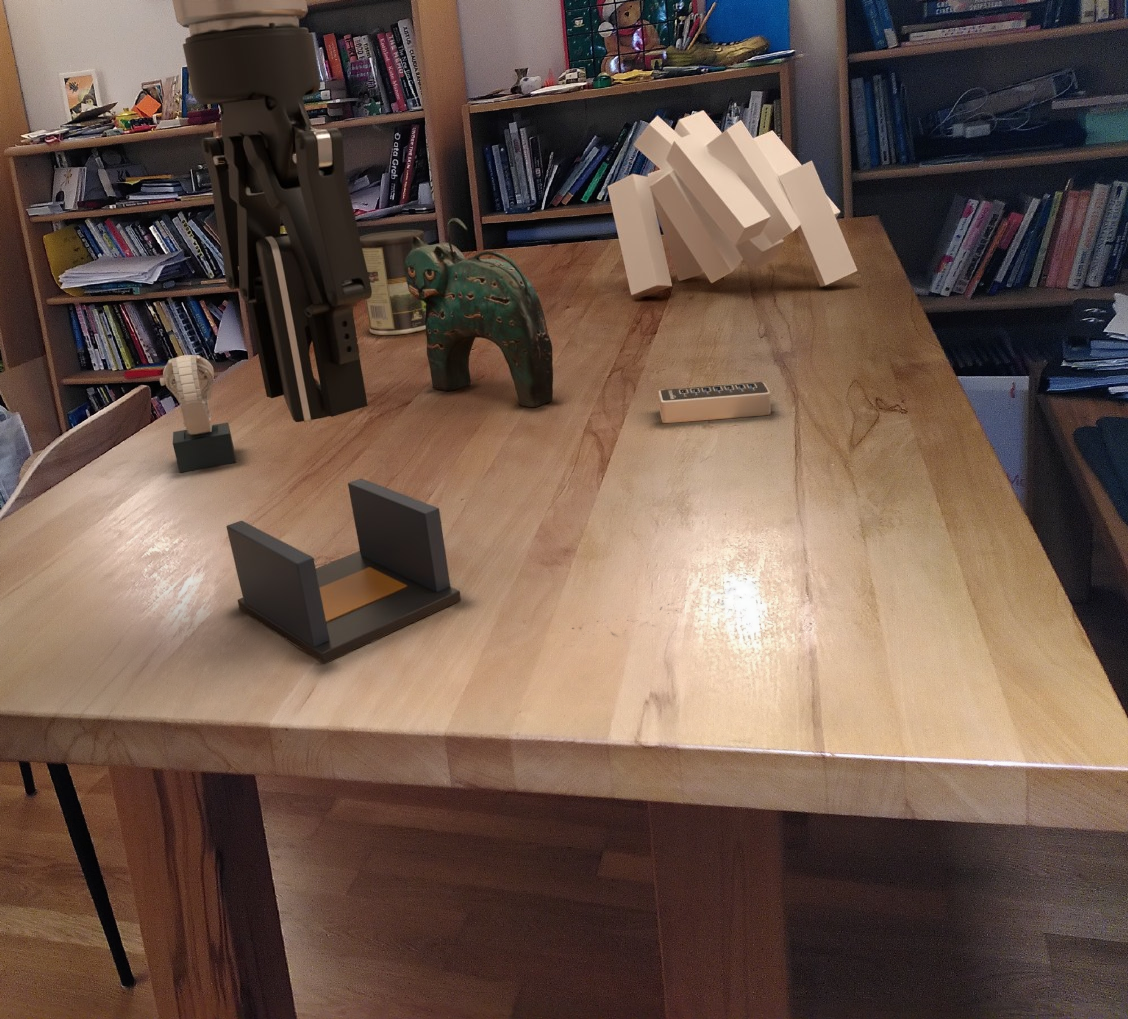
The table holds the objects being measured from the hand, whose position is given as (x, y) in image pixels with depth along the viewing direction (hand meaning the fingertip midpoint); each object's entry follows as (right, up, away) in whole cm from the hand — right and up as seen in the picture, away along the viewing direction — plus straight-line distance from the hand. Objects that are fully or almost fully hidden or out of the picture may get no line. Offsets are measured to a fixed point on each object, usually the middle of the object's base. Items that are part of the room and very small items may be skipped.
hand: (315, 400), depth 70 cm
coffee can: (-8, +21, +91) cm, 94 cm away
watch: (-20, -2, +37) cm, 43 cm away
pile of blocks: (+43, +28, +98) cm, 110 cm away
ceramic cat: (+8, +6, +52) cm, 53 cm away
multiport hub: (+32, +2, +37) cm, 49 cm away
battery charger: (0, -1, 0) cm, 1 cm away
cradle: (+1, -14, +4) cm, 15 cm away
